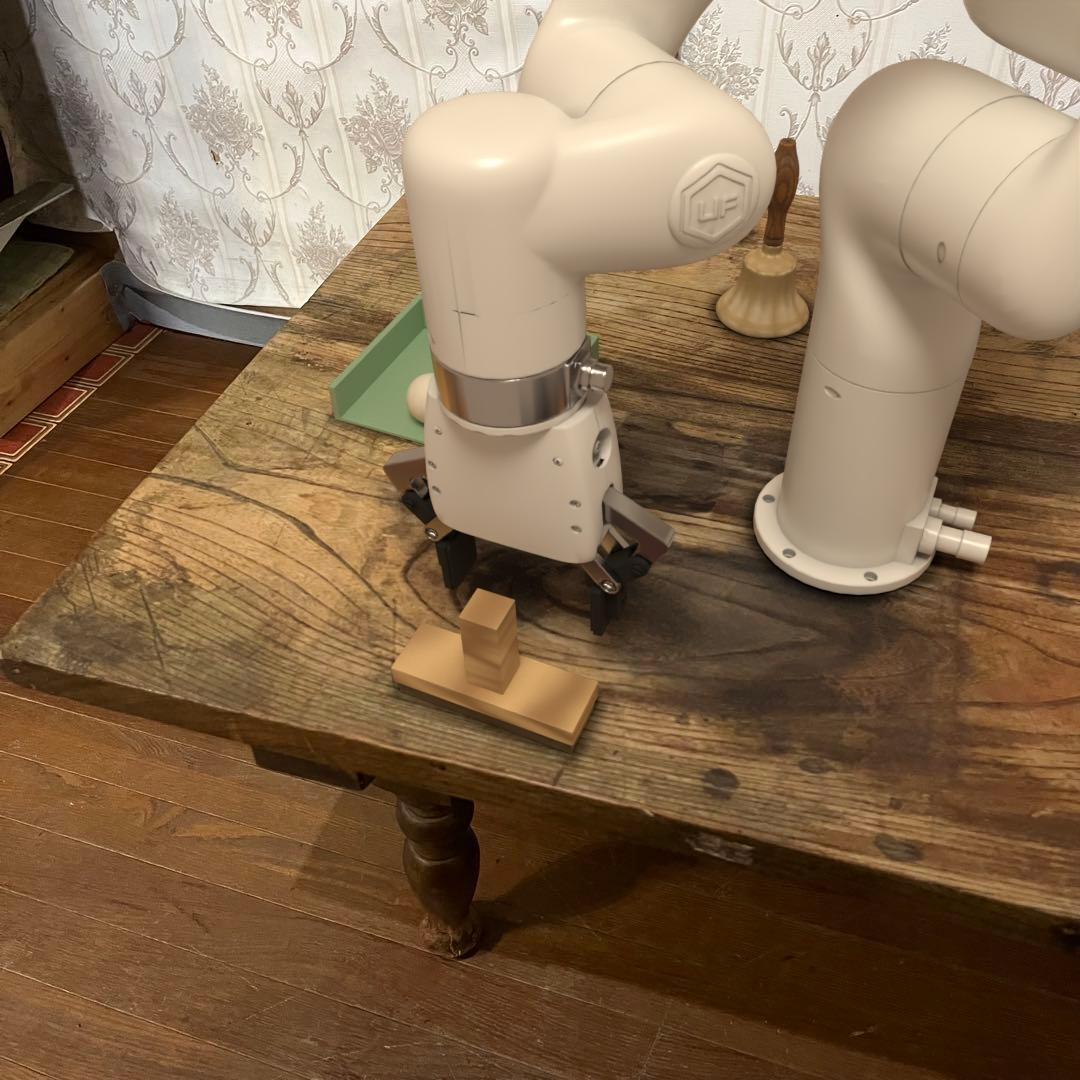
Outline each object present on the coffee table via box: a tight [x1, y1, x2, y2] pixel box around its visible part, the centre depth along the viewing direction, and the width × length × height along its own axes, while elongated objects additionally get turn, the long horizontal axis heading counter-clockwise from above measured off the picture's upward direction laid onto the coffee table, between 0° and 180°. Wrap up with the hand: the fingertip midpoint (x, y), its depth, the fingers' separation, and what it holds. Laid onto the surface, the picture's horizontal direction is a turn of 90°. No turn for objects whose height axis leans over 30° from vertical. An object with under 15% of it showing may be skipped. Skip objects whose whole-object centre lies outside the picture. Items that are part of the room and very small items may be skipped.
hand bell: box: [715, 137, 810, 339], centre depth 88 cm, size 8×8×16 cm
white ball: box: [406, 373, 433, 423], centre depth 82 cm, size 4×4×4 cm
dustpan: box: [327, 294, 600, 445], centre depth 87 cm, size 22×17×3 cm
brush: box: [390, 587, 599, 754], centre depth 61 cm, size 12×4×9 cm, turn 66°
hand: (532, 595), depth 63 cm, fingers open, 9 cm apart
